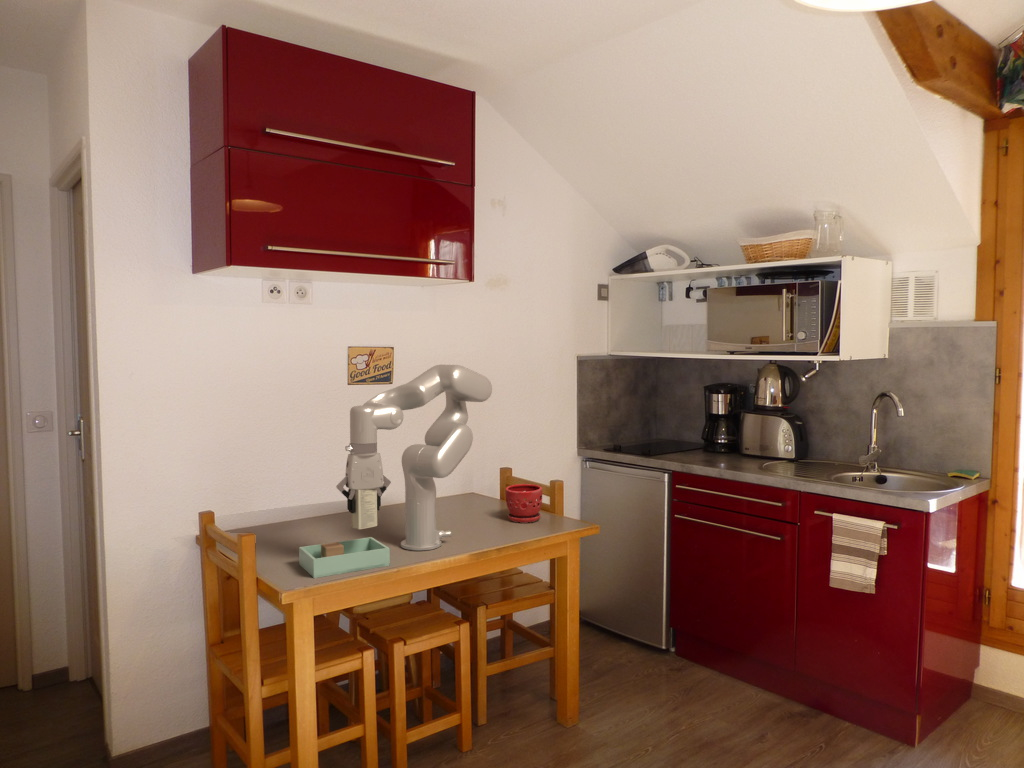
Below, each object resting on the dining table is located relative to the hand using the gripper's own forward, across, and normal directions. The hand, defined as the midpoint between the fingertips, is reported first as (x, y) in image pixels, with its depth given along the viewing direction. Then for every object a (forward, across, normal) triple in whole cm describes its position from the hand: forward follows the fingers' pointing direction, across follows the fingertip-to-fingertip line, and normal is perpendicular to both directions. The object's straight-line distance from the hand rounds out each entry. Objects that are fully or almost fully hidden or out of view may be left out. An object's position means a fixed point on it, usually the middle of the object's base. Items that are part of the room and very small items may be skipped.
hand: (364, 510), depth 213 cm
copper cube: (+14, -9, +2) cm, 17 cm away
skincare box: (+5, 0, 0) cm, 5 cm away
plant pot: (+15, +66, +20) cm, 71 cm away
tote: (+15, -6, +1) cm, 16 cm away
